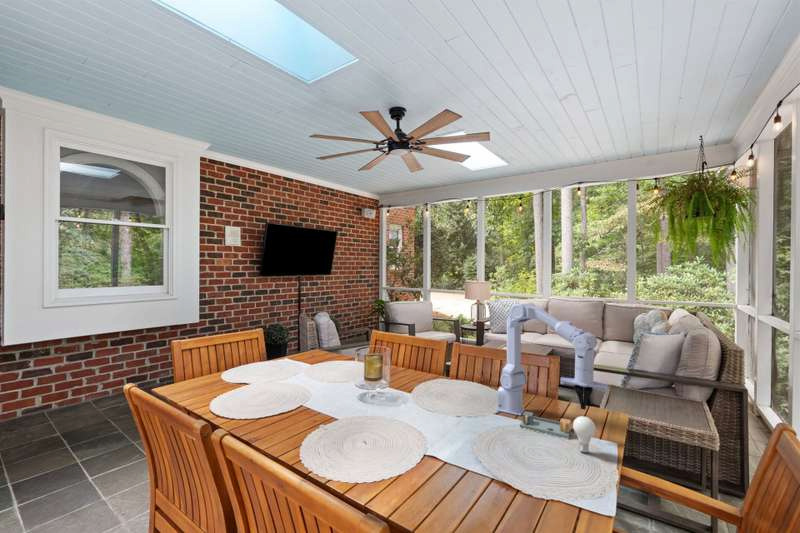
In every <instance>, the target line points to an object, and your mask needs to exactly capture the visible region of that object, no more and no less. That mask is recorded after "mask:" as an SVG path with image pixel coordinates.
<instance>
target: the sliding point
mask: <svg viewBox="0 0 800 533" xmlns="http://www.w3.org/2000/svg"><path fill="white" fill-rule="evenodd" d="M559 422H560V430H561V431H563V432H570V425H571V420H570V419H567V418H560V421H559ZM570 433H571V432H570Z"/></svg>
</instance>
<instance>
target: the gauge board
mask: <svg viewBox="0 0 800 533" xmlns="http://www.w3.org/2000/svg"><path fill="white" fill-rule="evenodd" d="M520 427H521V428H520ZM572 427H573V424H572V425H571V424H570V432H563V431H561V430H560V421H557V420H553V419H549V418H543V417H539V416H534V412H531V411H525V410H524V412H523V413H522V421H521V422H520V424H519V428H520V429H523V428H526V429H525V430H527V429H530V430H529V431H531V430H534V431H533V432H536V431H539V432H538V433H540V432H543V433H542V434H544V433H547V434H546V435H548V434H552V435H556V436H555V437H557V436H559V437H558V438H561V437H564V438H563V439H565V438H568V439H567V440H570V436H569V435H571V432H572ZM552 435H551V436H552Z"/></svg>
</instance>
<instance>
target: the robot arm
mask: <svg viewBox="0 0 800 533" xmlns="http://www.w3.org/2000/svg"><path fill="white" fill-rule="evenodd" d="M530 320H538V321H540V322H541V323H543V324H545V325H547V327H548V326H549V327H551V328H553V329H554V331H555V334H556V335H557V336H559V337H561V338H562V339H564V340H566V341H567V342H568V343H571V345H572V347H573V349H574V354H575V356H574V378H571V377H564V376H561V377H560V385H567V386H574V391H575V393H576V395H577V398H578V401H579V405H580V409H581V410H584V411H585V410H586V407H587V403H588V401H589V399H590V397H591V395H592V393H593V390H599V391H604V392H609V384H605V383H602V382H597V381H594V376H595V375H594V366H595V364H594V363H595V348H597V345H598V339H597V337H596V335H594V334H593V333H592V332H588V331H587V332H585V331H584V329H582V328H578V327H576V326H575V325H573V324H572V323H573V322H572V321H569V320H563V321H562V320H561V321H560V320H558V319H557V318H556V317H555V316H553V315H551V314H550V313H549V312H547V311H545V310H544V309H542V308H541V307H540V306H538V305H536V304H534V303H532V302H528V303H515V304H513V305H512V306H510V308H509V313H508V316H507V319H506V364H505V366H504V367H502V369H501V370H502V371H501V376H500V384H501V385H500V386H499V387H498V389H497V397H496V398H497V401H496V404H497V407H496V411H498V412H502V413H507V414H511V415H515V416H523V413H524V412H525V409H526V408H524V407H523V396H524V395H523V391H524V390H523V389H524V386H525V385H526V384H527V381H528V379H527V375H526V373H525V372H526V371H525V370H526V369H525V368H524V367H523V366H522V348H521V347H522V342H521V341H522V338H521V337H522V336H521V335H522V332H521V331H522V328H521V327H522V325H524V324H526V322H528V321H530Z"/></svg>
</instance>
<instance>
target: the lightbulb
mask: <svg viewBox="0 0 800 533" xmlns="http://www.w3.org/2000/svg"><path fill="white" fill-rule="evenodd" d="M572 427H573V431H574V432H575V434H576V436H577V440H578V445H579V446H578V450H579V451H580V452H581V453H585V454H586V453H589V446H590V442H591V439H592V438H593V437H594V435H595V433H596V430H597V428H596V425H595V423H594V421H593V420H592V419H591V418H590V417H588V416H584V415H582V416H577V417H576V418H575V419H574V420H573V423H572Z"/></svg>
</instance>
